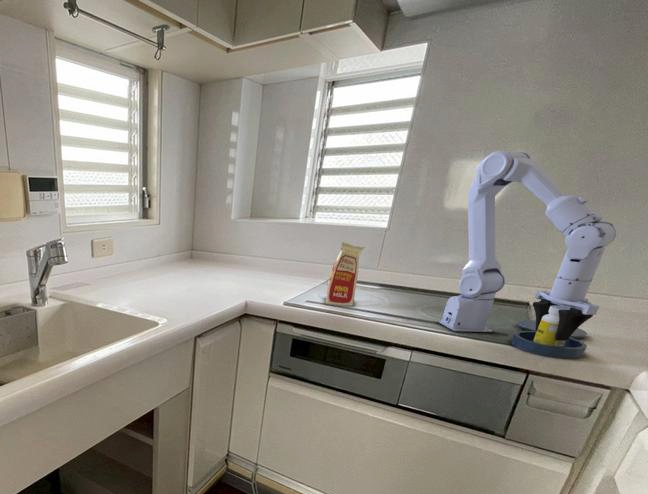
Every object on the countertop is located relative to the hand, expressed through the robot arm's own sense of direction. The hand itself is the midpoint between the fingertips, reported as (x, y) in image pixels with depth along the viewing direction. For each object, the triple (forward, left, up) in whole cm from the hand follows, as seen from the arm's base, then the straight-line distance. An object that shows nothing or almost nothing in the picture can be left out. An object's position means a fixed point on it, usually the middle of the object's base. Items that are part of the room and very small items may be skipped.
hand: (550, 335), depth 95 cm
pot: (0, 0, -3) cm, 3 cm away
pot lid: (+11, +14, -3) cm, 18 cm away
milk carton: (-35, +41, -3) cm, 54 cm away
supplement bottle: (0, 0, -3) cm, 3 cm away
